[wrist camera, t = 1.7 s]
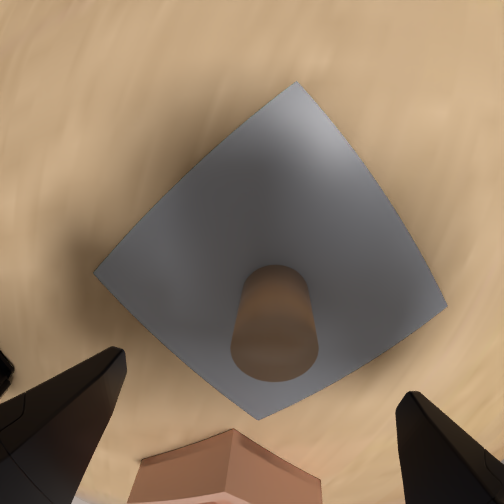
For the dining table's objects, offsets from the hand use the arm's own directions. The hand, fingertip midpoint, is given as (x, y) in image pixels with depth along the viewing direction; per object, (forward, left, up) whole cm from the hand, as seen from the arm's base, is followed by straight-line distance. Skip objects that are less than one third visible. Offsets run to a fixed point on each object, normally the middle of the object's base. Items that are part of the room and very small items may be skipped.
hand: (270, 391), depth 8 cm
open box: (+12, -14, -6) cm, 19 cm away
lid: (0, 0, -7) cm, 7 cm away
